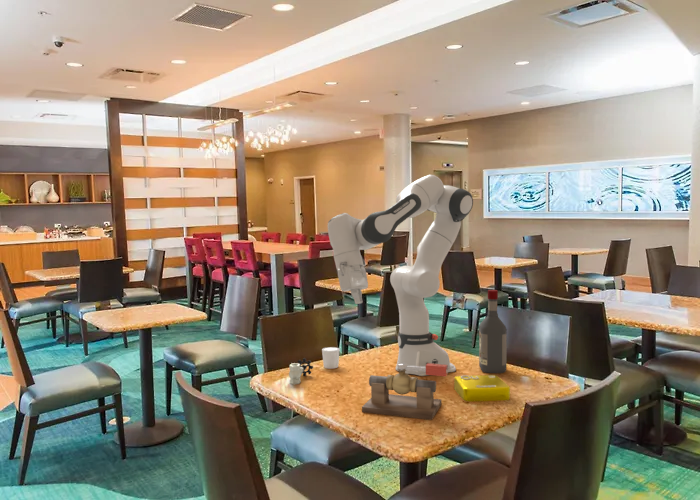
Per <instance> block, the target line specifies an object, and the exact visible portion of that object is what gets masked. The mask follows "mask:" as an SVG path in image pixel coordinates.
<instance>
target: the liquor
mask: <svg viewBox="0 0 700 500" xmlns="http://www.w3.org/2000/svg"><path fill="white" fill-rule="evenodd" d="M498 292H499V291H498V290H497V289H488V290H487V300H488V305H487V308H488V309H487V316H486V317H485V318H484V319H483V320H482V321H481V322H480V323H479V326H478V329H479V330H478V331H479V332H478V336H479V337H478V344H479V345H478V347H479V349H478V357H479V358H478V359H479V361H478V362H479V363H478V364H479V365H478V366H479V369H480V370H481V372H482V373H486V374H503V373H506V371H507V349H508V348H507V345H508V343H507V339H508V338H507V333H508V332H507V330H508V329H507V327H506V325H505V324H504V322H503V321H502V320H501V319H500V317H499V313H498V299H499V297H498V296H499V293H498Z"/></svg>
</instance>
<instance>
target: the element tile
mask: <svg viewBox="0 0 700 500" xmlns="http://www.w3.org/2000/svg"><path fill="white" fill-rule="evenodd" d="M453 381H454V384H453V385H454V388H453V389H454V391H455V392H456V393H457V394H458V395H459V397H460V398H461V400H462V401H464V402H471V403H472V402H475V403H476V402H498V401H502V402H503V401H504V402H505V401H509V400H510V399H511V387H510V386H509V385H508V384H507V382H505V381H504V380H503V379H501V377H499V376H498V375H496V374H484V375H483V374H482V375H481V374H480V375H479V374H478V375H465V374H463V375H457V376H456V375H455V376H454V378H453Z"/></svg>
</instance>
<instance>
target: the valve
mask: <svg viewBox="0 0 700 500" xmlns="http://www.w3.org/2000/svg"><path fill="white" fill-rule="evenodd" d="M311 363H312V361H311V360H310V359H309V360H307V358H305V357H304V358H302V360H301V359H298V360H297V363H295V362H294V363H291V364H289V365H288V367H289V370H288V371H289V372H288V376H289V384H290V385H300V383H301V382H302V381H301V377H302V376H303V377H306V376H307V374H308V375H311V374H312V370H313V369H314V366H313V365H311ZM306 364H307V365H306ZM307 367H308V368H307ZM301 375H302V376H301Z"/></svg>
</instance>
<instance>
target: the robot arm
mask: <svg viewBox="0 0 700 500" xmlns="http://www.w3.org/2000/svg"><path fill="white" fill-rule="evenodd" d="M395 201H396V203H394V204H393V205H392V206H390V207H389V208H387V209H386V210H382V211H381V210H379V211H375V212H372V213H370V214H369V215H368V216H367V217H365V218H364V219H360V218H357V217H354V216H353V215H352V216H351V215H350V214H349V213H348V212H343V213H341V214H337V215H336V216H334V217H332V218H331V219H329V220H328V222H327V233H328V238H329V239H328V240H329V244H330V246H331V247H332V250H333V251H332V252H333V260H334V264H335V268H336V271H337V277H338V282H339V287H340V289H341V291H342V292H349V291H350V294H351V296H352V298H353V300H354V303H355V305H358V304H359V305H360V304H363V298H362V293H363V292H362V290H366V289H368V287H369V282H368V276H367V270H366V268H365V266H367V264H366V261H365V259H364V258H363V256H362V255H361V251H367V250H370V249H372V248H375V247H377V246H378V245H380V244H384V243H386V242H388V241H389V240H390V239H391V238H392V237H393V236H394V233H395V232H396V229H397V227H398V226H400V225H401V224H402V223H404V222H405V221H406V220H407V219H408V218H409V219H412V218H415V217H418V216H419V215H421V214H423V213H425V212H426V211H429V212H432V213H435V214H436V215H435V219H434V220H433V221H432V222H431V224H430V225H429V227H428V229H427V230H426V232H425V233H424V236H422V238H421V240H420V241H419V244H418V245H417V247H416V252H417V253H416V257H415V258H416V259H415V261H414V263H413V265H412V266H411V265H402V266H398V267H396V268H394V269H393V270H392V272H391V274H390V278H389V281H390V284H391V287H392V288H393V290H394V293H395V299H396V303H397V307H398V313H399V315H398V317H399V331H398V337H397V343H398V344H397V345H398V356H397V362H396V366H395V370H396V371H397V364H398V363H406V364H407V365H410V366H422V367H426V364H427V363H430V364H443V365H448V373H452V372H453V373H454V372H456V369H457V368H456V366H455V364H454V363H452V362H451V361H450V357H449V354H448V352H447V351H446V350H445V349H444V348H443V347H441V346H440V345H438V344H437V343H436V342H434V341H437V340H438V339H439V336H438V335H437V334H436V333H432V332H430V313H429V312H430V311H429V309H428V308H427V306H426V304H425V300H424V299H425V298H431V297H433V296H435V295H436V294H437V293H438V292H439V289H440V285H441V283H440V282H441V281H440V278H439V276H440V272H441V269H442V265H443V262H444V261H445V259H446V257H447V255H448V253H449V252H450V250H451V248H452V246H453V245H454V243H455V241H456V239H457V237H458V235H459V232H460V229H461V227H462V221H463V220H464V219H465V218H466V217H467V216H468V215H469V214H470V213H471V211H472V208H473V205H474V199H473V195H472V193H470V191H468V190H467V189H464V188H459V187H455V186H453V185H448V184H444V182H443V181H442V179H441V178H440V177H438V176H437V175H434V174H427V175H425V176H422V177H420V178H418V179H416V180H415V181H413V182H411V183H410V184H408V185H407V186H405V187H404V188H403V189H402V190H401V191H400V192H399V193H398V195H396V199H395ZM405 373H406V374H408V375H416V376H421V377H424V376H427V375H426V372H424V371H413V370H407V371H405Z"/></svg>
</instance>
